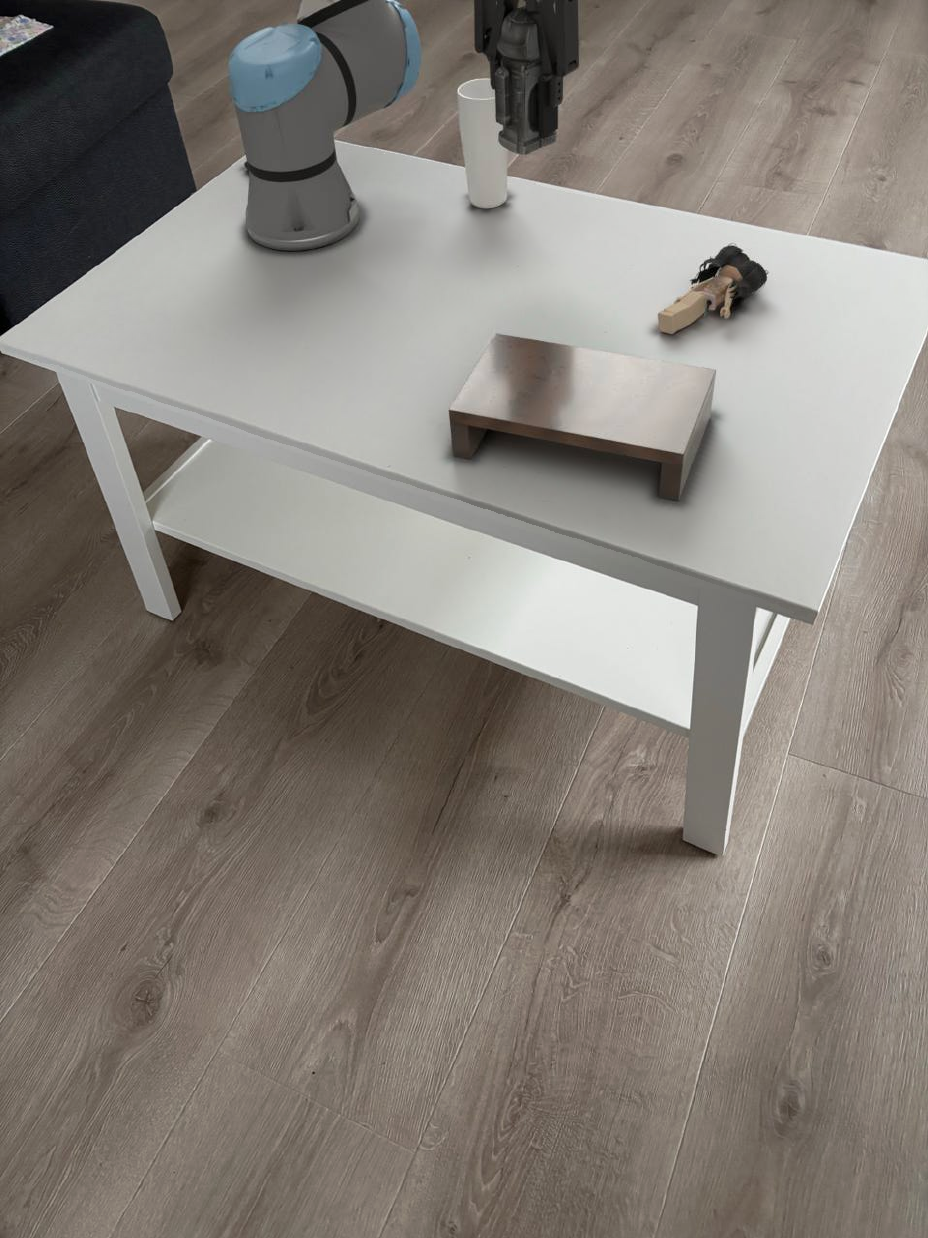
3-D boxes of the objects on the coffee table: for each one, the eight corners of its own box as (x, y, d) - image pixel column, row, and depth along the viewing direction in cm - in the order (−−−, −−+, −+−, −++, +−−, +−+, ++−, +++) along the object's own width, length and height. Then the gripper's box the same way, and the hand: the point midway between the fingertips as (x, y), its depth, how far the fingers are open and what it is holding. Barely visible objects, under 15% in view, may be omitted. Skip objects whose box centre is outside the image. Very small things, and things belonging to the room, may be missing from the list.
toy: (538, 121, 132) (538, -14, 121) (570, 137, 129) (572, 0, 118) (483, 143, 129) (478, 7, 118) (514, 160, 126) (512, 22, 115)
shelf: (452, 455, 114) (448, 409, 109) (498, 378, 122) (495, 332, 118) (678, 501, 107) (683, 454, 103) (710, 416, 115) (716, 369, 111)
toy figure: (704, 351, 124) (774, 287, 130) (702, 302, 119) (775, 238, 126) (652, 336, 128) (722, 275, 134) (648, 288, 123) (721, 227, 130)
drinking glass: (508, 213, 147) (504, 100, 136) (459, 211, 148) (451, 99, 137) (516, 189, 151) (513, 77, 140) (468, 187, 152) (462, 76, 141)
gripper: (431, -107, 113) (446, 117, 130) (575, -77, 104) (570, 158, 122) (477, -127, 117) (486, 94, 134) (620, -99, 108) (610, 133, 125)
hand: (526, 124), depth 128 cm, fingers closed on toy, 6 cm apart
